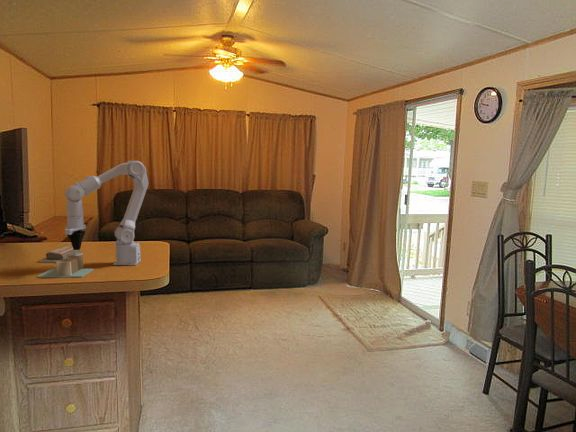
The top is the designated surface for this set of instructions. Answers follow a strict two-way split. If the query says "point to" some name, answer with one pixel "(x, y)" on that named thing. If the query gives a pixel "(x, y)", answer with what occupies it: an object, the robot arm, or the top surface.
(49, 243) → the top surface
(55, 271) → the mat
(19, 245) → the top surface
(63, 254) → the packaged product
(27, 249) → the top surface
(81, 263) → the walnut block
